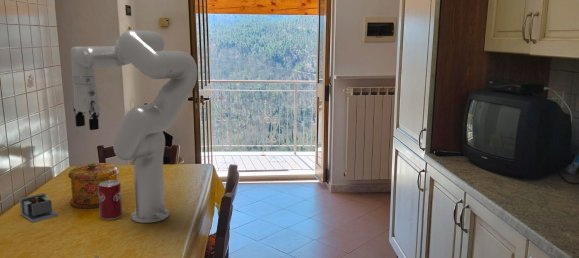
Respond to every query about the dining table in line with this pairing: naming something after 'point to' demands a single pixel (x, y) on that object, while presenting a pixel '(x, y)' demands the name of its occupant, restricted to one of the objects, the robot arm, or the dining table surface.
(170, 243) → the dining table surface
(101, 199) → the soda can
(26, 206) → the grey desk caddy
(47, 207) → the blue-grey small box
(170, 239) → the dining table surface
